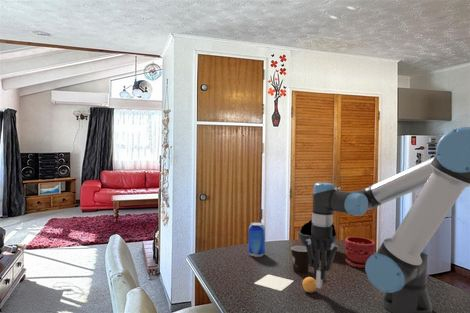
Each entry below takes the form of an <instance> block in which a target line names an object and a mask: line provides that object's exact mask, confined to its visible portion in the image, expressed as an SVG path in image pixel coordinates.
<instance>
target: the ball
mask: <svg viewBox="0 0 470 313" xmlns="http://www.w3.org/2000/svg"><path fill="white" fill-rule="evenodd" d="M302 288H303V289H304V291H305V292H307V293H314V292H315V291H316V290H317V289H318V288H316V278H315V277H311V276H308V277H305V278H304V279H303V280H302Z"/></svg>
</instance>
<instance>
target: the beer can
mask: <svg viewBox="0 0 470 313" xmlns="http://www.w3.org/2000/svg"><path fill="white" fill-rule="evenodd" d="M265 252H266V228H265V226H264V223H262V222H259V221H258V222H257V221H255V222H251V223H250V225H249V227H248V254H249V256H251V257H253V256H254V257H255V258H261V257H264V254H266V253H265Z"/></svg>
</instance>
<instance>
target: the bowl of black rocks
mask: <svg viewBox="0 0 470 313" xmlns="http://www.w3.org/2000/svg"><path fill="white" fill-rule="evenodd" d="M312 224H313V223H312V217H311V218H310V220H309V221H308V222H306V223H304V224H303V225H302V226H301V228H300V230H298V238H299V240H300V243H301V244H302V246H304V247H306V245H305V244H304V241H305V240H307V239H310V236H311V228H312ZM331 226H332V239H333V243H334V244H336V243H335V242H336V240H337V238H338V236H337V235H338V234H337V232H336V229H335V225H334V223H333V224H332V225H331ZM311 245H312V250H313V253H315V251H314V246H313V244H312V242H311ZM330 249H331V246H330V247H329V248H328V249H327V251H328V250H330ZM320 253H321V250H320Z"/></svg>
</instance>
